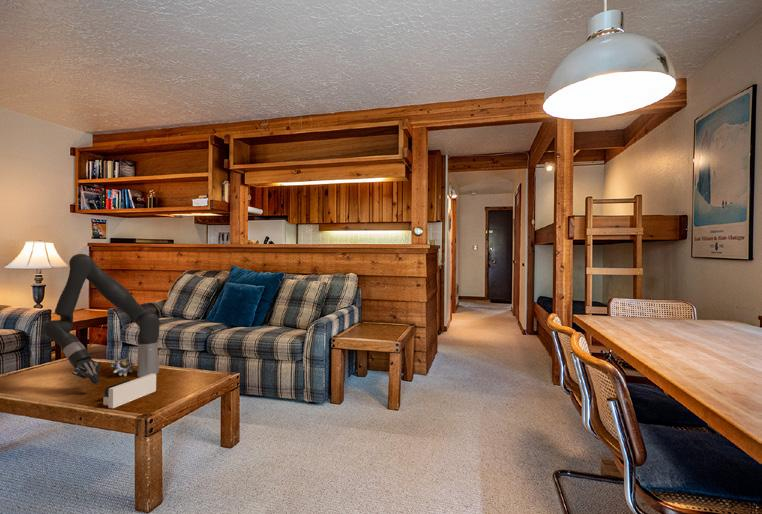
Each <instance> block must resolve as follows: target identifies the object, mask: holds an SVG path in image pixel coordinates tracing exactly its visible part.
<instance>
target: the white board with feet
mask: <svg viewBox="0 0 762 514" xmlns="http://www.w3.org/2000/svg"><path fill="white" fill-rule="evenodd" d="M156 391H157V374H149V375H146V376H143V377H138V378H135V379H132V380H130V381H129V382H126V383H123V384H120V385H118V386H115V387H112V388H109V397H105V396H103V403H102V404H103V406H107V407H108V409H114V408H117V407H119V406H122V405H125V404H128V403H130V402H132V401H134V400H137V399H140V398H141V397H146V396H147V395H150V394H152V393H155V392H156Z"/></svg>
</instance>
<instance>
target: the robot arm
mask: <svg viewBox="0 0 762 514" xmlns="http://www.w3.org/2000/svg"><path fill="white" fill-rule="evenodd" d="M68 264H69V272H68V278H67V281H66V283H65V286H64V287H63V290H62V291H61V294H60V295H59V299H58V300H57V303H56V307H55V309H54V313H55V315H57V316H59V317H60V318H59V319H57V320H56V319H55V320H54V319H53V320H49V321H47V322H46V323H44V327H43V332H44V334H45V335H46V336H47V337H48V338H49V339H50V340H52V341H53V342H54V343H56V344H57V345H59V347H60V349H61V350H62V352H63V354H64V355H65V357H66V358H67V360H68V361H69V363H70V364H71V366H72V367H74V370H73V371H72V372H71V374H72V375H74V376H76V377H79V378H81V379H84V380H85V379H88V380H90V382H91V383H92V384H94V385H97V384H99V383H100V382H101V379H100V377H99V373H100V372H101V369H102V368H101V367H102V362H101V361H99V362H95V360H93V359H92V356H91V354H90V353H89V351H88V350H87V349H86V347H85V346H84V344H83V343H81V341H80V340H79V339H78V337H77V336H76V335H75V334H74V333H71V331H72V330H73V329H72V328H73V325H74V312H75V309H76V306H77V304H78V301H79V298H80V294H81V290H82V289H83V286H84V283H85V281H86V280H87V281H89V282H90V283H91V284H92V285H93V287H94V288H95V289H96V290H97V292H99V294H101V296H102V297H104V298H105V299H106V300H107V301H108V302H109V303H110V304H112V305H113V306H115V307H116V309H117V308H118V309H119V310H120V311H122V312H123V313H125V314H126V315H127V316H128V317H129V318H130V319H131V320H132V321H133V322H134V323H135V324H136V326H137V327H139V336H138V337H137V355H136V356H137V362H136V364H137V365H136V371H137V372H136V374H137V375H136V376H137V377H138V378H141V377H143V376H146V375H149V374H156V375H157V374H159V373H160V355H159V354H158V353H159V352H158V344H159V341H158V340H159V337H160V318H159V316H158V315H157V314H156V313H154V312H150V311H148V309H146V308H144V307H143V306H142V305H141V304H139V303H138V301H137V300H136V299H135V297H134V296H133V295H132V293H131V292H130V291H129V290H128V289H127V288H125V287H124V286H123V285H122V284H121V283H120V282H119V281H117V280H115V278H113V277H112V276H110V275H109V274H107V273H106V272H105V271H103V270H102V269H101V268H100V266H99V265H98V264H96V262H95V261H94V259H93V258H92V257H91V256H89V255H88V254H86V253H78V254H74V255H72V256H71V257H70V259H69V263H68Z"/></svg>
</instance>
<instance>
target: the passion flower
mask: <svg viewBox="0 0 762 514" xmlns="http://www.w3.org/2000/svg"><path fill="white" fill-rule="evenodd" d="M133 361H134V360H130V359H129V357H128V356H127V357H125V358H123V357H121V356H118V357H117V359H116V360H115V361H111V362H110V363H108V364H109V367H110V368H112V369H113V371H112V374H116V375H117V374H118V376H119V377H122V376H123V377H127V375H128V373H131V374H132V373H133V372H134V367H135V366H136V364H134V363H133Z"/></svg>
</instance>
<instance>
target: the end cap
mask: <svg viewBox="0 0 762 514" xmlns="http://www.w3.org/2000/svg"><path fill="white" fill-rule="evenodd" d="M129 381H131V379H127V380H124V381H121V382H118V383H115V384H111V385H108V386H107V387H106V388H105V389H104V397H109V388H112V387H115V386H118V385H120V384H123V383H126V382H129Z"/></svg>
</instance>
